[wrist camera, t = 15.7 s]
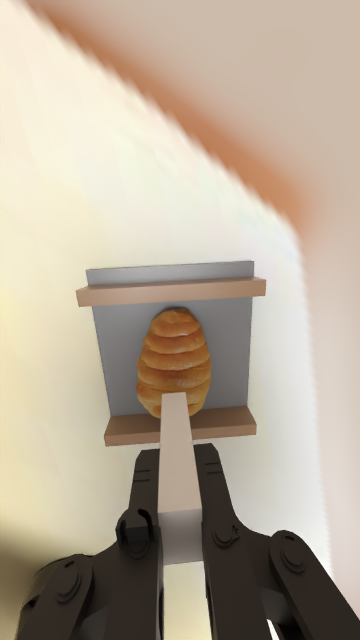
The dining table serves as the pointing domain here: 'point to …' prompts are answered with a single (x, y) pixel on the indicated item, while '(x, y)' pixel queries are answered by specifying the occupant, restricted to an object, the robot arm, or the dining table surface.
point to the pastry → (173, 361)
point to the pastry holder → (133, 324)
